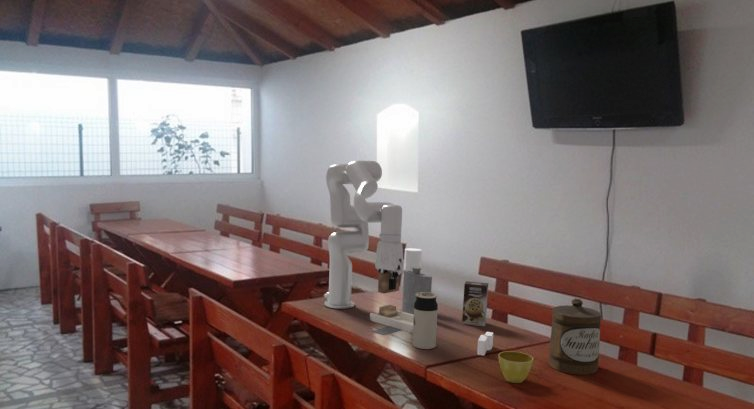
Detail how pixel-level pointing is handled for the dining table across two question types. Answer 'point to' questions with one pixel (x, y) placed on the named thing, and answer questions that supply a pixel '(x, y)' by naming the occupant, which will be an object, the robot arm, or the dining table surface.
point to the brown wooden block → (386, 283)
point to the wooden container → (575, 339)
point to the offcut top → (387, 309)
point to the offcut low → (389, 315)
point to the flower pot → (515, 365)
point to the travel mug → (425, 320)
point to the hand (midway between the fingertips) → (388, 288)
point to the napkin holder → (485, 343)
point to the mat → (386, 330)
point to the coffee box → (475, 303)
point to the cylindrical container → (412, 258)
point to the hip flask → (414, 287)
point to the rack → (396, 320)
